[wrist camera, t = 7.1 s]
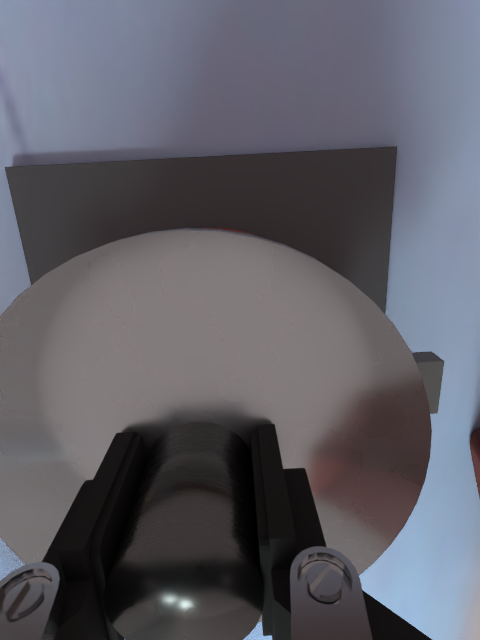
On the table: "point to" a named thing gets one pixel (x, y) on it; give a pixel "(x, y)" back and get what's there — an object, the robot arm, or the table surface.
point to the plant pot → (476, 455)
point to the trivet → (217, 205)
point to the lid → (205, 415)
